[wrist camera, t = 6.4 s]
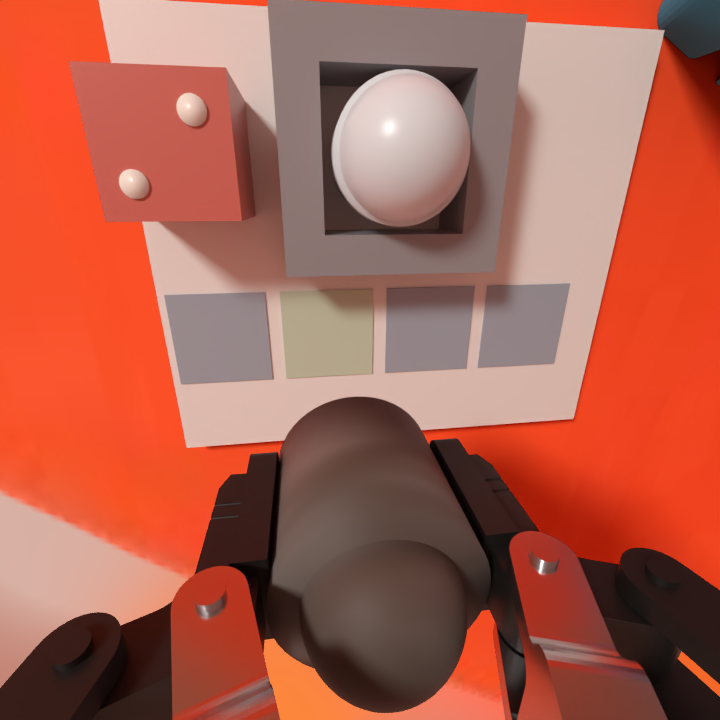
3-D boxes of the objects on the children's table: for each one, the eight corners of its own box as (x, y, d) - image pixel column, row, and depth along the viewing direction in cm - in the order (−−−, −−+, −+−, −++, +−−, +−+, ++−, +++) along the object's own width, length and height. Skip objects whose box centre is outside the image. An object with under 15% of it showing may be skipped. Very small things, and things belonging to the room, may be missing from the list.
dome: (453, 89, 17) (510, 48, 13) (443, 223, 20) (489, 230, 15) (327, 84, 17) (337, 39, 12) (331, 223, 19) (340, 232, 14)
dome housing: (488, 46, 19) (527, 14, 15) (466, 261, 22) (494, 272, 19) (273, 35, 17) (267, -2, 14) (288, 265, 21) (286, 277, 18)
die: (245, 100, 18) (225, 66, 14) (255, 216, 20) (241, 221, 15) (129, 97, 18) (67, 60, 13) (152, 216, 19) (104, 222, 15)
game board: (645, 39, 21) (666, 29, 19) (563, 410, 29) (574, 419, 28) (110, 9, 17) (96, -5, 16) (191, 437, 26) (186, 448, 24)
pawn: (432, 392, 11) (561, 582, 6) (420, 513, 13) (510, 752, 7) (274, 399, 11) (244, 620, 5) (282, 526, 12) (267, 795, 7)
